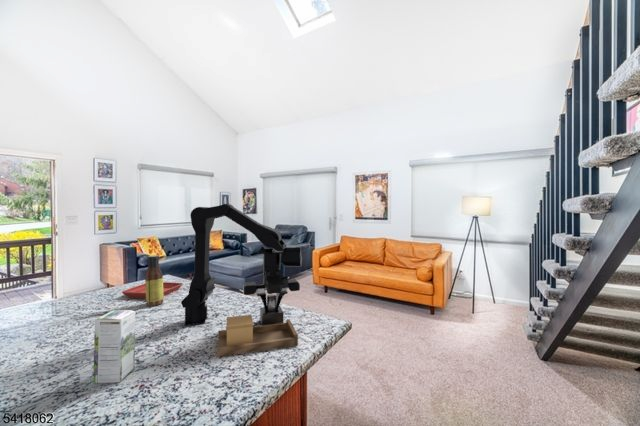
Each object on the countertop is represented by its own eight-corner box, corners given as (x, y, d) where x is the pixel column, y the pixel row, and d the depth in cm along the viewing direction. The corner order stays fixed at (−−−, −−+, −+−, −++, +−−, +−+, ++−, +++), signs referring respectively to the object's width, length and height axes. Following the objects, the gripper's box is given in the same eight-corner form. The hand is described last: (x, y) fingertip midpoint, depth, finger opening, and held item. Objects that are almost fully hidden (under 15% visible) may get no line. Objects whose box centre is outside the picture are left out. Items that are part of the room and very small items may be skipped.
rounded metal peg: (267, 318, 94) (267, 297, 94) (266, 315, 97) (266, 294, 96) (276, 317, 95) (276, 296, 95) (275, 314, 97) (275, 294, 97)
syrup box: (110, 369, 67) (110, 309, 67) (135, 368, 68) (135, 309, 68) (92, 384, 61) (92, 319, 61) (121, 383, 62) (121, 318, 62)
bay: (216, 357, 73) (216, 345, 73) (218, 337, 85) (218, 327, 85) (297, 345, 80) (297, 334, 80) (289, 328, 92) (289, 319, 92)
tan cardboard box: (226, 349, 76) (226, 326, 76) (226, 337, 83) (226, 317, 83) (253, 345, 79) (253, 323, 79) (251, 334, 85) (251, 314, 85)
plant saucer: (149, 287, 139) (149, 281, 139) (184, 289, 137) (184, 282, 137) (120, 299, 121) (120, 291, 121) (159, 301, 119) (159, 293, 119)
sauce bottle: (166, 302, 117) (167, 254, 116) (156, 307, 110) (156, 257, 110) (152, 301, 117) (152, 254, 117) (141, 306, 111) (141, 256, 111)
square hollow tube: (262, 328, 91) (262, 314, 91) (260, 320, 98) (260, 307, 98) (283, 325, 93) (283, 312, 93) (279, 318, 100) (279, 305, 100)
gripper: (245, 272, 85) (244, 323, 85) (304, 269, 91) (303, 317, 91) (243, 265, 96) (242, 311, 96) (296, 263, 101) (295, 305, 101)
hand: (271, 311), depth 96 cm, fingers open, 3 cm apart
